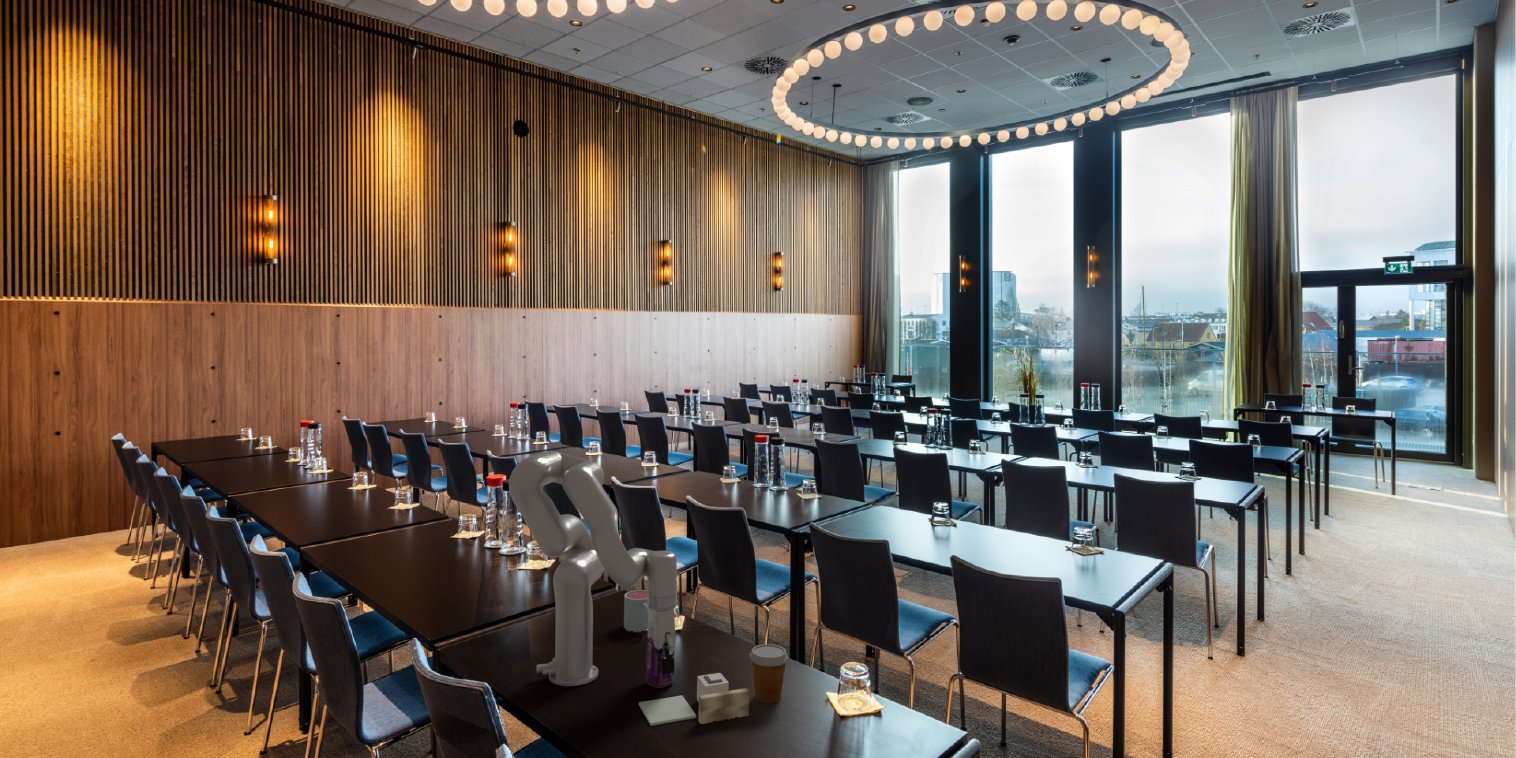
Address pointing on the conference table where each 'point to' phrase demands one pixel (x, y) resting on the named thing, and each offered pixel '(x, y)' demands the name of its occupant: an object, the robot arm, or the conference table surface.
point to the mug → (636, 611)
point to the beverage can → (656, 668)
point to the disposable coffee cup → (768, 671)
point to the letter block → (711, 684)
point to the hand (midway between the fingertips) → (662, 665)
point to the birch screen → (723, 705)
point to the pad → (667, 710)
